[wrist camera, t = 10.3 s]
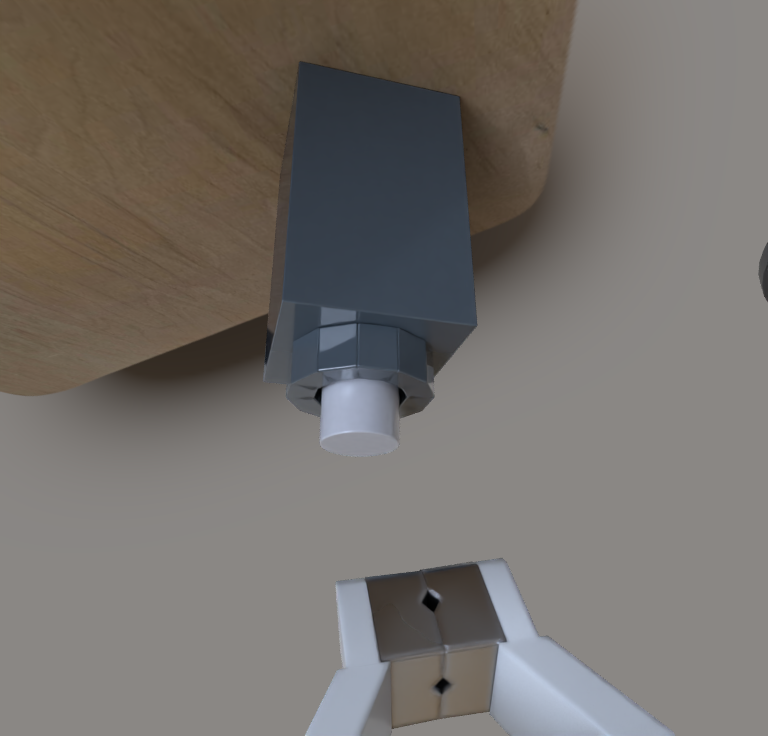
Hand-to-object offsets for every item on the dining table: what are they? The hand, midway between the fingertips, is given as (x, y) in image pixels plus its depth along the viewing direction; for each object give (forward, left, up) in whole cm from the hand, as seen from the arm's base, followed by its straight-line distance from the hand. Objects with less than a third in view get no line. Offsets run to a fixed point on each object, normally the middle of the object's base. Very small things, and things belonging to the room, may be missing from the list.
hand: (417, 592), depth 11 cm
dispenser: (-2, +14, -24) cm, 28 cm away
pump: (-2, +14, -10) cm, 17 cm away
